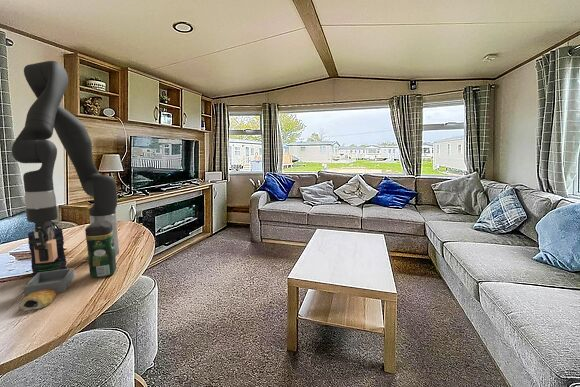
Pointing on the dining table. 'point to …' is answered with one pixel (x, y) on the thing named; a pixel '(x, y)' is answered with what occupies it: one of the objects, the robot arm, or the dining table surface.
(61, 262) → the storage jar
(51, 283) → the charcoal tray
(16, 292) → the dining table surface
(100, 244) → the coffee jar
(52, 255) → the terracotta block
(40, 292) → the pastry
